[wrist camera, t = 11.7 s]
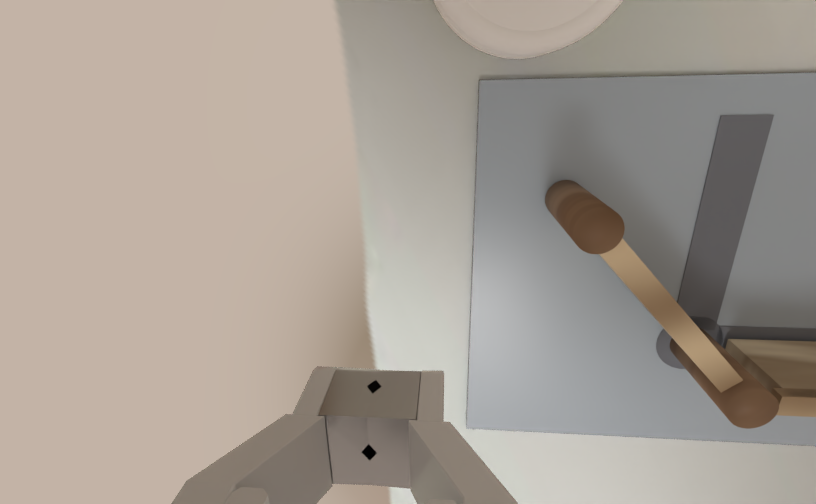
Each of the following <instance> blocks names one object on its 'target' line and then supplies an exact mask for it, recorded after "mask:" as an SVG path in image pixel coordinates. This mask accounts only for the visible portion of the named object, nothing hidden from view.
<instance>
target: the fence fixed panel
mask: <svg viewBox="0 0 816 504" xmlns="http://www.w3.org/2000/svg"><path fill="white" fill-rule="evenodd" d="M699 329H700V330H701V331H702V332H703V334H704V335H705V336H706V337H707V338H708V339H709V341H710V342H711V343H712V344H713V345H714V346H715V348H716V349H717V350H718V351H719V352H720V354H721V355H722V356H723V357H724V358H725V359H726V361H727V362H728V363H729V364H730V365H731V366H732V368H733V369H734V370H735V371H736V372H737V374H738V375H739V376H740V377H741V378H742V379H743V381H741V382H739V383H738V384H736V385H734V386H732V387H730V388H729V389H727V390H725V391H723V392H720V391H719V390H718V389H717V388H716V387H715V385H714V384H713V383H712V382H711V381H710V380H709V379H708V378H707V376H706V375H705V374H704V373H703V372H702V371H701V370H700V369H699V367H698V366H697V365H696V364H695V363H694V362H693V361H692V360H691V358H690V357H689V356H688V355H687V354H686V353H685V352H684V351H683V350H682V348H681V347H680V346H679V345H678V344H677V343H676V342H675V341H674V339H673V338H672V339H671V341H670V350H671V352H672V353H673V354H674V356H675V357H676V358H677V359H678V360H679V362H680V363H681V364H682V365H683V366H684V367H685V369H686V370H687V371H688V372H689V373H690V375H691V376H692V377H693V378H694V379H695V380H696V382H697V383H698V384H699V385H700V386H701V388H702V389H703V390H704V391H705V392H706V394H707V395H708V396H709V397H710V398H711V399H712V401H713V402H714V403H715V404H716V405H717V407H718V408H719V409H720V410H721V411H722V413H723V414H724V415H725V416H726V417H727V418H728V420H729V421H730V422H731V423H732V424H733V425H735V426H737V427H740V428H745V429H751V428H757V427H761V426H763V425H765V424H767V423H769V422H770V421H771V420H772V419H773V418H774V417H775V416H776V415H779V416H801V417H816V342H815V341H782V340H749V339H728V341H727V344H726V348H725V349H724V348H723V347H722V346H721V345H720V344H719V343H718V342H716V341H715V340H714V339H713V338H712V337H711V336H710V335H709V334H708V333H707V332H706V331H705V330H703V329H701V328H699Z"/></svg>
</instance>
